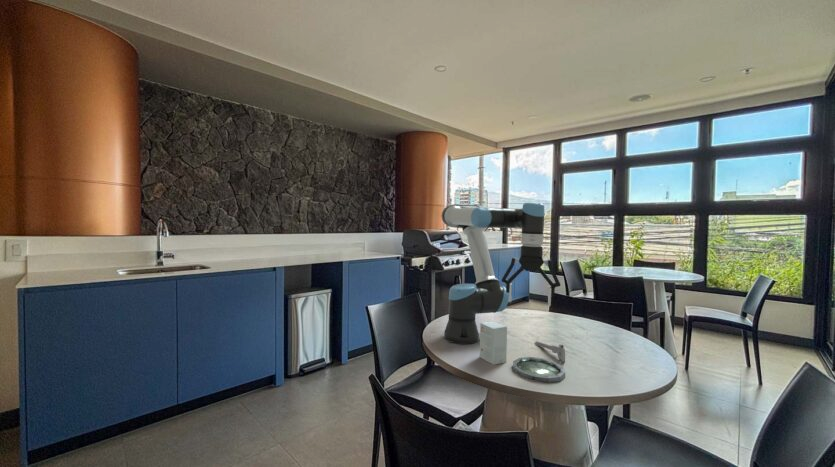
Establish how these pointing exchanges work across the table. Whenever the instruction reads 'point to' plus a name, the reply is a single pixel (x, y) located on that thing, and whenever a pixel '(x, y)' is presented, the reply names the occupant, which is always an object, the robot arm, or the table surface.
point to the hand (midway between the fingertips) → (529, 303)
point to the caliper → (554, 349)
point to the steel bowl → (538, 369)
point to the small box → (493, 342)
